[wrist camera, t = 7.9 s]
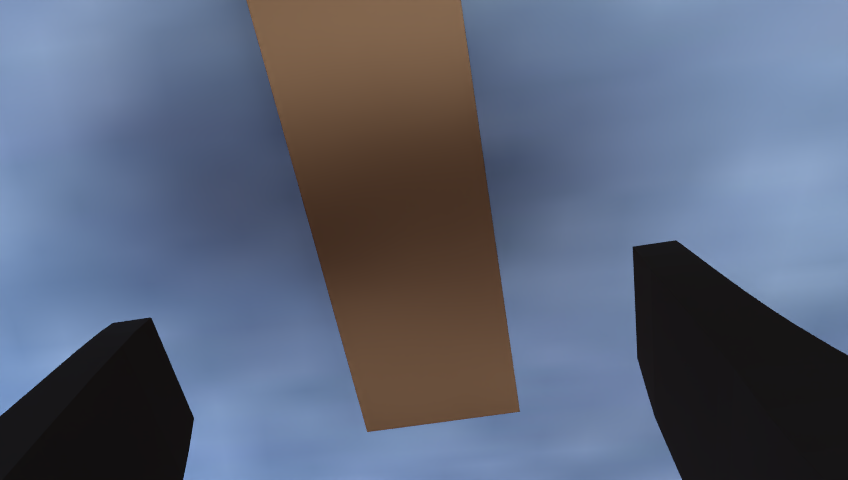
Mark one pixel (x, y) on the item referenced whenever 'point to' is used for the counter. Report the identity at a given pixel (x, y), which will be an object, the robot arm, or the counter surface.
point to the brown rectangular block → (395, 200)
